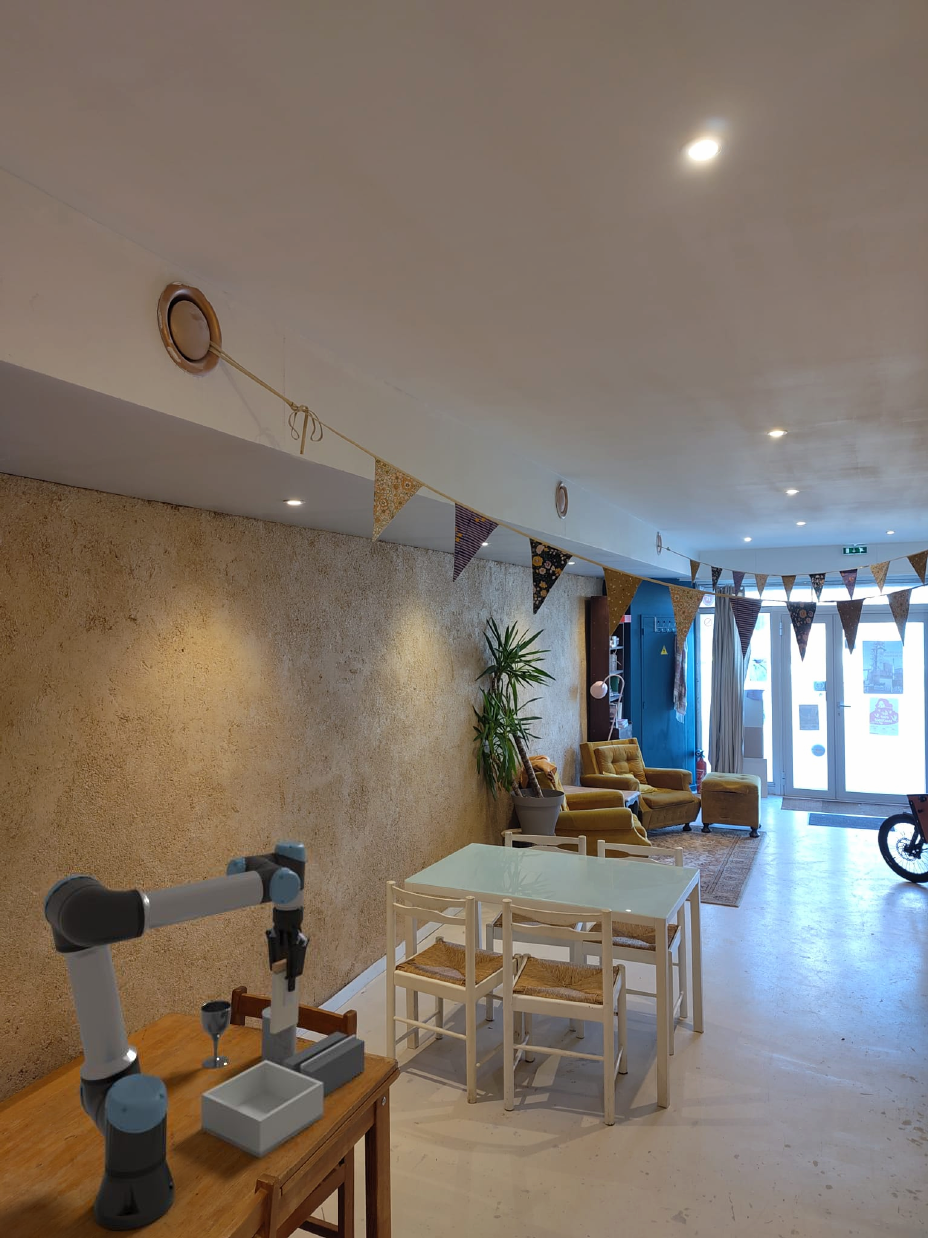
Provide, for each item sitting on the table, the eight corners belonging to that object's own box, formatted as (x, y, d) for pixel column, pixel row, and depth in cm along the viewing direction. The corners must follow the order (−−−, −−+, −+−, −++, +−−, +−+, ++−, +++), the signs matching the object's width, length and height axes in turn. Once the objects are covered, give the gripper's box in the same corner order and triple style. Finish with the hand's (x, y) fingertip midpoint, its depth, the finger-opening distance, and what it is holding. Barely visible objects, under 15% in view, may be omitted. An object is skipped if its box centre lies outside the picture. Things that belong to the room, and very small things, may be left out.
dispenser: (311, 1105, 205) (311, 1069, 206) (282, 1093, 211) (282, 1058, 211) (364, 1071, 222) (364, 1038, 222) (336, 1061, 227) (336, 1028, 228)
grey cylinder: (300, 1049, 234) (301, 1005, 235) (290, 1066, 225) (290, 1020, 225) (268, 1047, 235) (268, 1003, 236) (256, 1064, 226) (256, 1018, 226)
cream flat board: (274, 1034, 201) (276, 965, 202) (269, 1032, 202) (272, 964, 203) (298, 1022, 208) (300, 956, 209) (293, 1021, 209) (295, 954, 209)
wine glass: (194, 1067, 224) (194, 1010, 225) (211, 1053, 232) (212, 999, 232) (219, 1071, 222) (220, 1014, 222) (236, 1057, 229) (236, 1002, 230)
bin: (259, 1158, 184) (260, 1121, 184) (201, 1129, 195) (201, 1094, 195) (323, 1116, 200) (323, 1083, 201) (265, 1092, 211) (265, 1060, 212)
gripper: (320, 907, 206) (317, 1005, 204) (278, 897, 214) (275, 991, 212) (298, 915, 199) (295, 1015, 198) (256, 904, 207) (252, 1001, 206)
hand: (284, 1003), depth 205 cm, fingers closed on cream flat board, 1 cm apart
